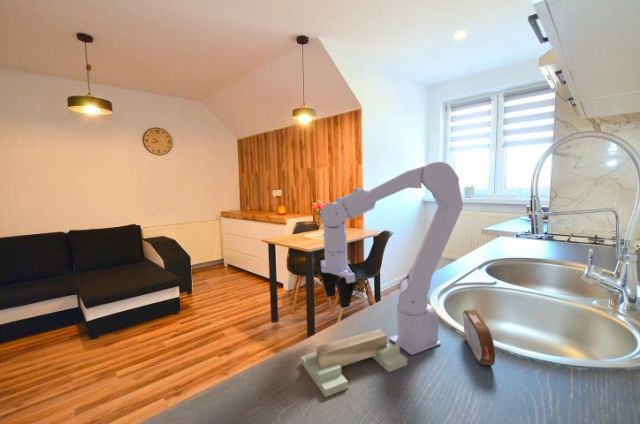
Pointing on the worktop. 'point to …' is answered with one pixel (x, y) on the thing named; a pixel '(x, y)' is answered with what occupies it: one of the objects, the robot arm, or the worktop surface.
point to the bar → (351, 349)
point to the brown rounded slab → (479, 337)
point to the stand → (332, 376)
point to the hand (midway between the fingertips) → (337, 301)
